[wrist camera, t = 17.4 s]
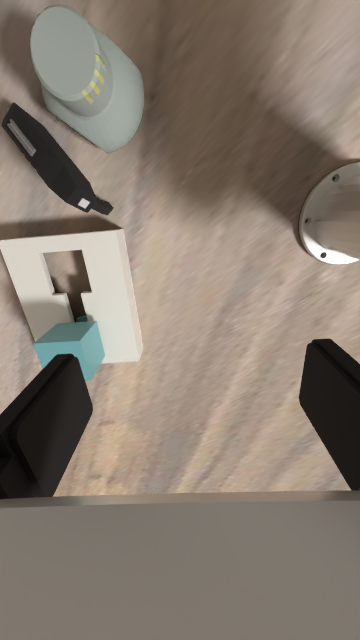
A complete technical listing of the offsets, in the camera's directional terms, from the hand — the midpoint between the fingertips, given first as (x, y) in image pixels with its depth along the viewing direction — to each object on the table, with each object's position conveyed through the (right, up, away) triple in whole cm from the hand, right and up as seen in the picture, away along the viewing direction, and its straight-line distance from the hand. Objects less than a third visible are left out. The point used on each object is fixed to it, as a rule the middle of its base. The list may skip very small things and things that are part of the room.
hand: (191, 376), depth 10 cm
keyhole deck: (-16, +6, +29) cm, 33 cm away
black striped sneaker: (-15, +23, +22) cm, 35 cm away
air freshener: (-10, +28, +19) cm, 35 cm away
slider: (-15, +1, +31) cm, 34 cm away
